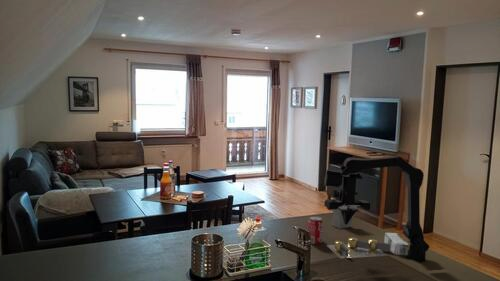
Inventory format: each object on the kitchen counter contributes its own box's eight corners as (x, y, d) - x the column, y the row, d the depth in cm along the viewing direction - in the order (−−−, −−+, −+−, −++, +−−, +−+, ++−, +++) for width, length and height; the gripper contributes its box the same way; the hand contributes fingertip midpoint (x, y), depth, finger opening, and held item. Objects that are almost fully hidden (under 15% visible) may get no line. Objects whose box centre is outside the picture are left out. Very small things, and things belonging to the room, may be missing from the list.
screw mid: (347, 247, 163) (347, 239, 162) (348, 244, 166) (349, 236, 166) (368, 251, 159) (369, 243, 158) (369, 248, 162) (370, 240, 162)
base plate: (388, 257, 156) (388, 254, 156) (340, 260, 151) (340, 257, 151) (370, 245, 169) (370, 242, 169) (326, 247, 165) (326, 244, 165)
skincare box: (340, 229, 190) (342, 199, 188) (330, 225, 196) (332, 196, 194) (352, 227, 194) (354, 198, 192) (342, 223, 200) (344, 194, 198)
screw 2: (367, 249, 161) (367, 240, 161) (368, 245, 165) (368, 237, 165) (389, 252, 158) (390, 244, 157) (389, 249, 162) (390, 241, 161)
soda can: (321, 240, 172) (322, 216, 171) (322, 246, 165) (324, 220, 164) (306, 239, 173) (307, 215, 172) (306, 245, 166) (308, 219, 165)
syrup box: (395, 244, 171) (408, 257, 157) (383, 244, 171) (394, 256, 157) (396, 232, 171) (409, 244, 156) (384, 232, 171) (395, 244, 156)
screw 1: (332, 248, 160) (333, 240, 160) (341, 248, 161) (341, 239, 161) (342, 257, 151) (342, 248, 151) (351, 256, 152) (351, 248, 152)
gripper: (360, 184, 162) (356, 218, 164) (320, 183, 159) (317, 218, 160) (373, 190, 152) (369, 227, 153) (331, 189, 148) (327, 226, 149)
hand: (345, 224), depth 154 cm, fingers closed
